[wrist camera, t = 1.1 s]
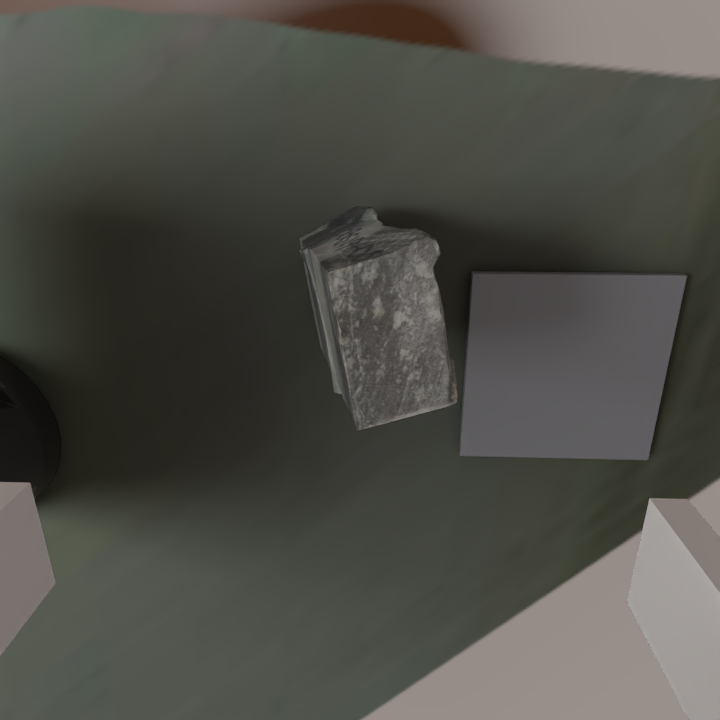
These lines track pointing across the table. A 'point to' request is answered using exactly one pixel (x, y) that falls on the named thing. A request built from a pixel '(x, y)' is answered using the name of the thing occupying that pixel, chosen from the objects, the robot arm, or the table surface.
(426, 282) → the stone block
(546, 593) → the table surface
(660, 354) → the slate pad
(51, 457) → the robot arm
